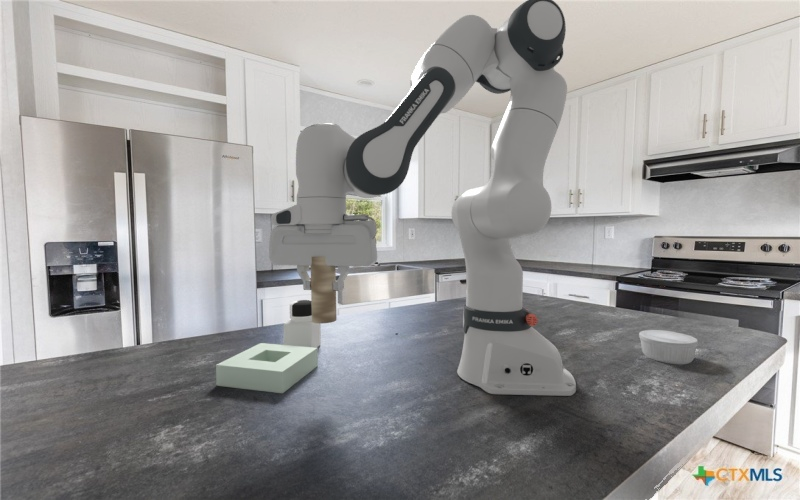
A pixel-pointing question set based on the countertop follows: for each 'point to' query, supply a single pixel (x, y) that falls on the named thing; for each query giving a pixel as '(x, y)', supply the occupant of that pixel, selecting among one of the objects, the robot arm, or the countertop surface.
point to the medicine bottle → (301, 326)
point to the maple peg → (322, 291)
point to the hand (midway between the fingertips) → (323, 290)
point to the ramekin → (668, 346)
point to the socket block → (267, 367)
